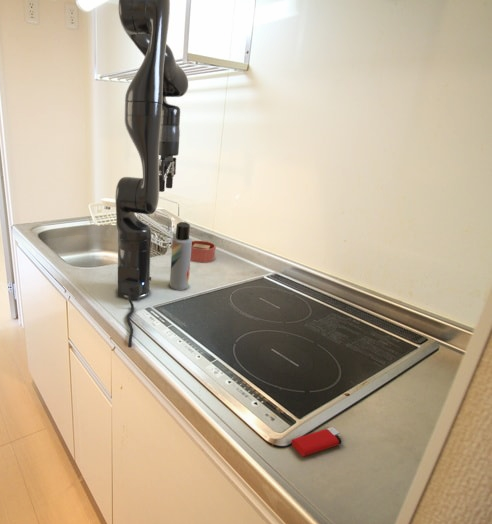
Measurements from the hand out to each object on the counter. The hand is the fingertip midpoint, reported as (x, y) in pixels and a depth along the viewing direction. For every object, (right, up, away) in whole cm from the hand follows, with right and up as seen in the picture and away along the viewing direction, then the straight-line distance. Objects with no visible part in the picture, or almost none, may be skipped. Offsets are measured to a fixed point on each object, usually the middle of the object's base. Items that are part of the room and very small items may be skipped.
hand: (165, 189), depth 124 cm
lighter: (+20, -54, -67) cm, 88 cm away
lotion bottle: (+3, -33, -13) cm, 35 cm away
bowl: (+14, -23, +13) cm, 30 cm away
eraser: (+14, -23, +12) cm, 29 cm away
